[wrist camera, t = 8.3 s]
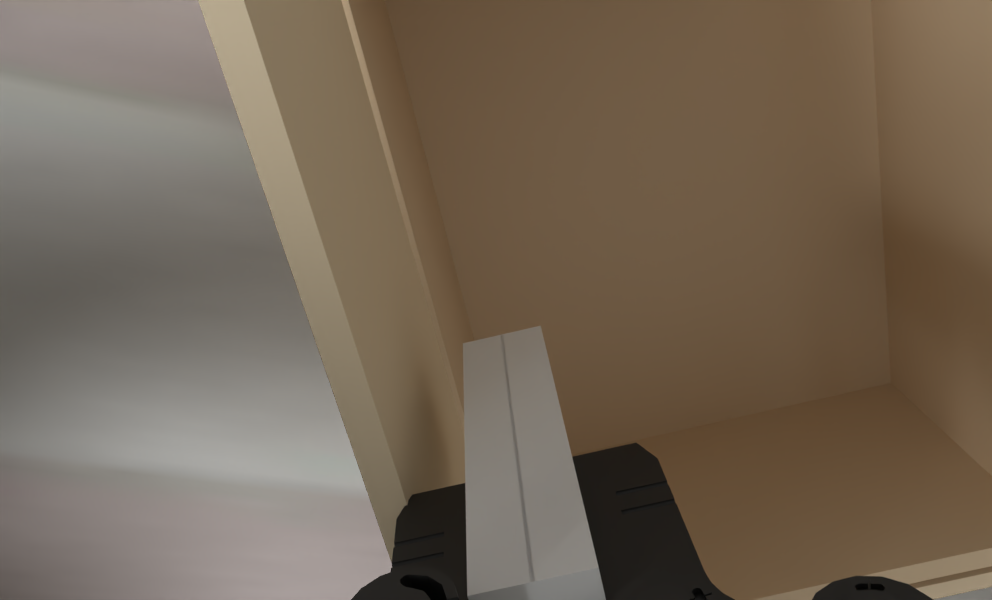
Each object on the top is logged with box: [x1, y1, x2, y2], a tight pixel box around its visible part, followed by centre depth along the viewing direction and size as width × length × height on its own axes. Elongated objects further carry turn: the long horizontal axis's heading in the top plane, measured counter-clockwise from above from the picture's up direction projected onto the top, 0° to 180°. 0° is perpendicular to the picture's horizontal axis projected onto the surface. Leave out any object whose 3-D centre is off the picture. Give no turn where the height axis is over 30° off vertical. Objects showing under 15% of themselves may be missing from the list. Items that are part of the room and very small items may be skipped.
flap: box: [198, 0, 465, 562], centre depth 15 cm, size 1×17×6 cm, turn 12°
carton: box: [341, 0, 992, 600], centre depth 22 cm, size 15×21×9 cm
